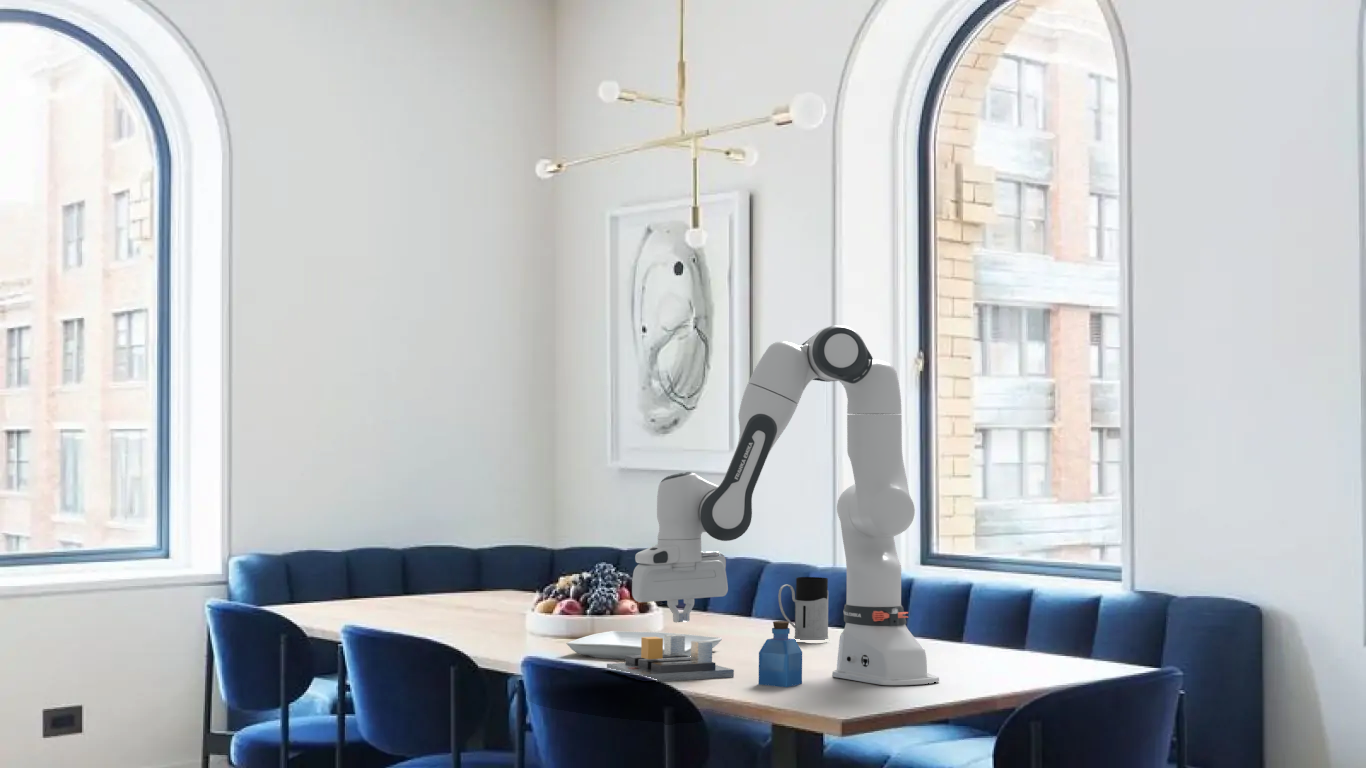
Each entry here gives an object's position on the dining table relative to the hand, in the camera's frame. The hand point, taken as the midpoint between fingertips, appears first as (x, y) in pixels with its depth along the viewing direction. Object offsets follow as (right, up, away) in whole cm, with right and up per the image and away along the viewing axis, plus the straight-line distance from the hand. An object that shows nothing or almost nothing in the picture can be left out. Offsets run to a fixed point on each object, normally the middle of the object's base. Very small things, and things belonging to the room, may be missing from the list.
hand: (681, 621), depth 337 cm
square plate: (-8, -12, +32) cm, 35 cm away
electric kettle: (+29, -13, +59) cm, 67 cm away
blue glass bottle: (+19, -11, -13) cm, 25 cm away
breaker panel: (-2, -10, -1) cm, 11 cm away
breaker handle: (-6, -7, -3) cm, 9 cm away
